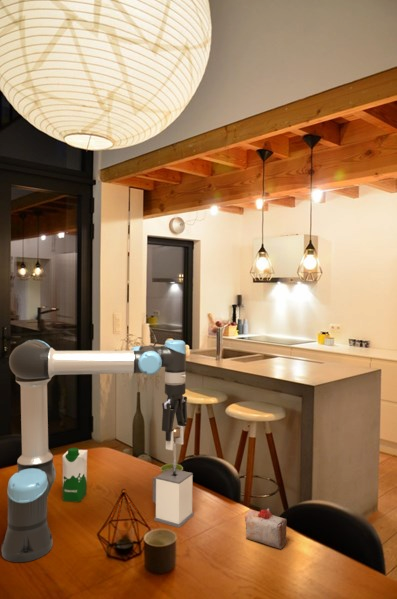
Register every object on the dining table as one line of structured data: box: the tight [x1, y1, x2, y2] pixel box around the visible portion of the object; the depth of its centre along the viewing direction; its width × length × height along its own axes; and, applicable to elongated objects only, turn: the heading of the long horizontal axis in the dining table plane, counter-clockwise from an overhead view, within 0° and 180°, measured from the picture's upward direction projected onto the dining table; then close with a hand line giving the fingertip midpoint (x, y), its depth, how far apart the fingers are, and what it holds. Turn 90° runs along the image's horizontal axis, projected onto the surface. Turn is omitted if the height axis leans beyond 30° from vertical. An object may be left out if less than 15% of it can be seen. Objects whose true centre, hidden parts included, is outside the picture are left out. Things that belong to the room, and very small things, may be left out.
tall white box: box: [152, 468, 194, 528], centre depth 167 cm, size 10×14×16 cm
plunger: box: [172, 426, 180, 476], centre depth 166 cm, size 7×7×20 cm
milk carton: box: [61, 447, 88, 503], centre depth 182 cm, size 9×9×20 cm
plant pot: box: [160, 463, 184, 474], centre depth 192 cm, size 9×9×9 cm
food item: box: [244, 507, 288, 550], centre depth 152 cm, size 14×8×10 cm, turn 58°
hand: (174, 446), depth 166 cm, fingers open, 6 cm apart
